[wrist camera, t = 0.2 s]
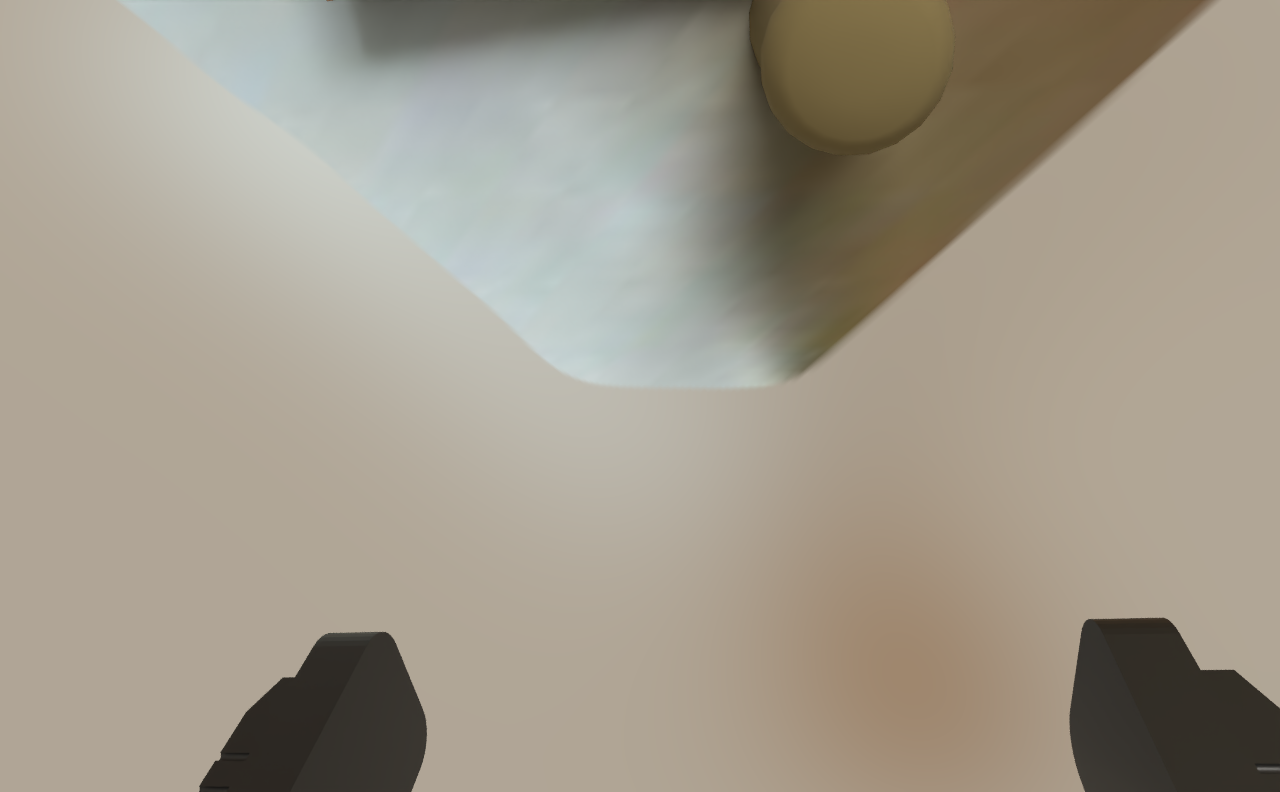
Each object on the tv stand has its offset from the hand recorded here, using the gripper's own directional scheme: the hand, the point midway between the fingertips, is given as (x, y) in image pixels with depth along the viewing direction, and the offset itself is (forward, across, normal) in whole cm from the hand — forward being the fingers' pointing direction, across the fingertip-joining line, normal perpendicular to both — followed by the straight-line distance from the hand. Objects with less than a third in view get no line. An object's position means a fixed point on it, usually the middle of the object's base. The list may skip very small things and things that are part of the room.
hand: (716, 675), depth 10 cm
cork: (+28, -3, -4) cm, 28 cm away
